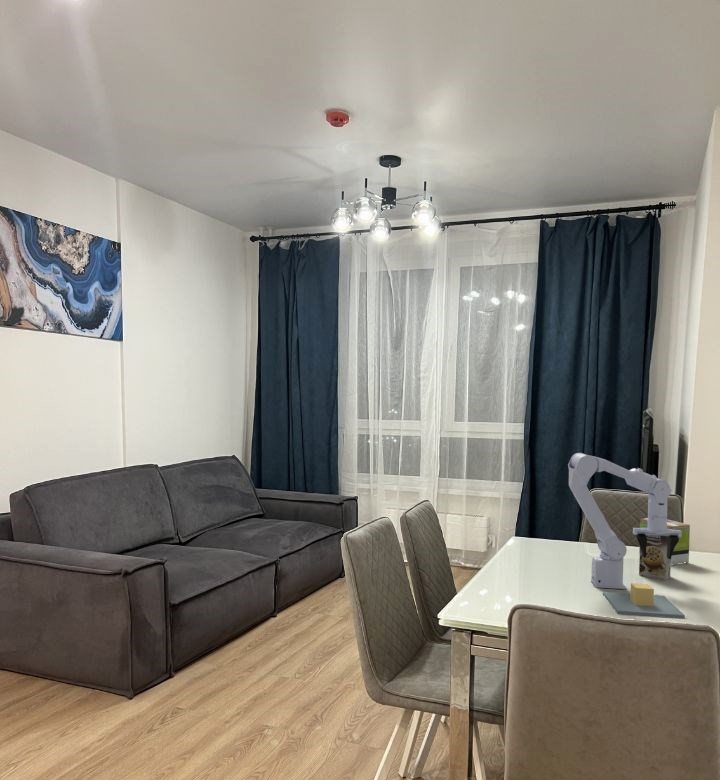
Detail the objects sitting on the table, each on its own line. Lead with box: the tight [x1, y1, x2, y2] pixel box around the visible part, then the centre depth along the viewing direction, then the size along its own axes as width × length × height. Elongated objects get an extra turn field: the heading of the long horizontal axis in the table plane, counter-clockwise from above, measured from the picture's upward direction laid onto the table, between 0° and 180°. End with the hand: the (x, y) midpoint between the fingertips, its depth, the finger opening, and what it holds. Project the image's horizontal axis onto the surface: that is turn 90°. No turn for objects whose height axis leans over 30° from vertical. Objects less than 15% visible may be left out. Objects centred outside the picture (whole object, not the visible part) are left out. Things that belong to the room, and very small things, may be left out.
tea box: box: [638, 517, 691, 565], centre depth 253 cm, size 15×10×15 cm, turn 25°
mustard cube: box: [630, 582, 655, 606], centre depth 196 cm, size 5×5×5 cm
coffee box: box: [638, 527, 672, 581], centre depth 229 cm, size 9×6×16 cm
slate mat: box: [602, 591, 686, 619], centre depth 196 cm, size 18×18×1 cm
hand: (656, 557), depth 216 cm, fingers open, 7 cm apart
